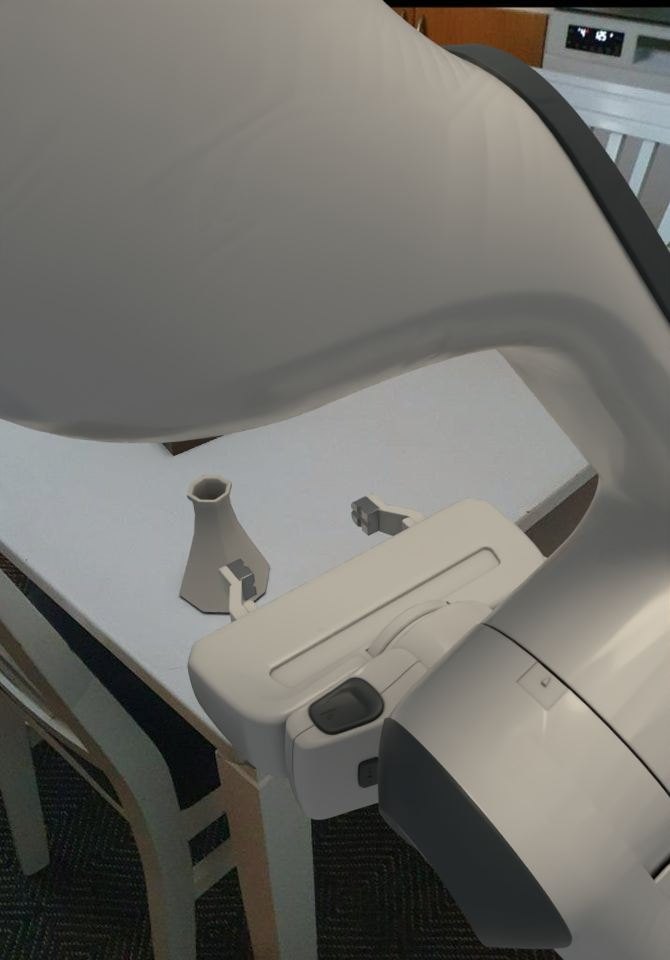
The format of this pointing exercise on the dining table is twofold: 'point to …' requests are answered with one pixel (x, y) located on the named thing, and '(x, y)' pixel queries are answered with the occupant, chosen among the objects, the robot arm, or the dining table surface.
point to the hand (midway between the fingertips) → (297, 537)
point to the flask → (217, 546)
